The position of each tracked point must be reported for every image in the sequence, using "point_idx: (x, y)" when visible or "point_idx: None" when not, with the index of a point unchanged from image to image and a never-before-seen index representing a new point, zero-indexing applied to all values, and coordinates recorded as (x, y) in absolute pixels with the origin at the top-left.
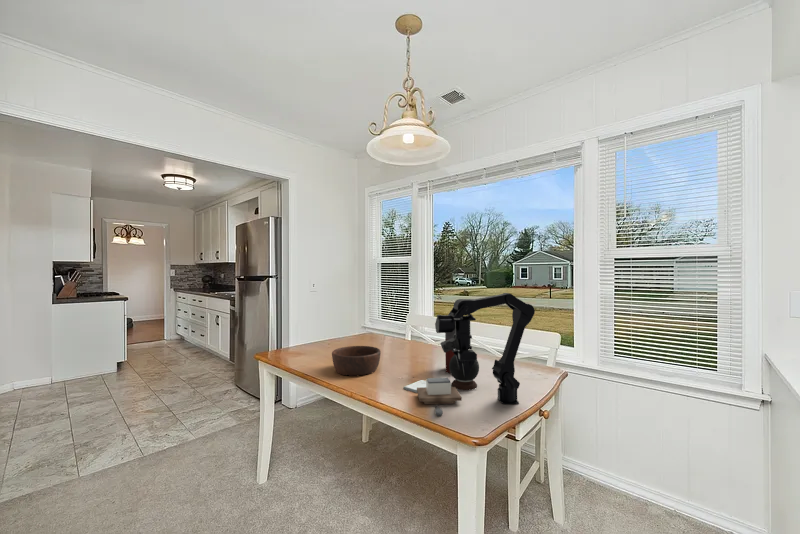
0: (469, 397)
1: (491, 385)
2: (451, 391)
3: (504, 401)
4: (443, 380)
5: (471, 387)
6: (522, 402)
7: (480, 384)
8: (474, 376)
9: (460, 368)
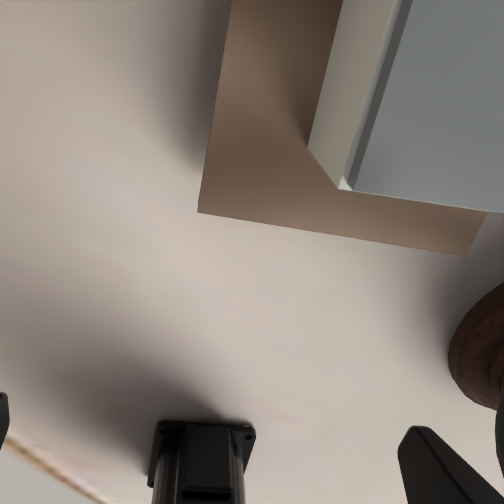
0: (329, 295)
1: None
2: None
3: (174, 439)
4: (426, 103)
5: (459, 364)
6: None
7: None
8: (496, 449)
9: (413, 449)
